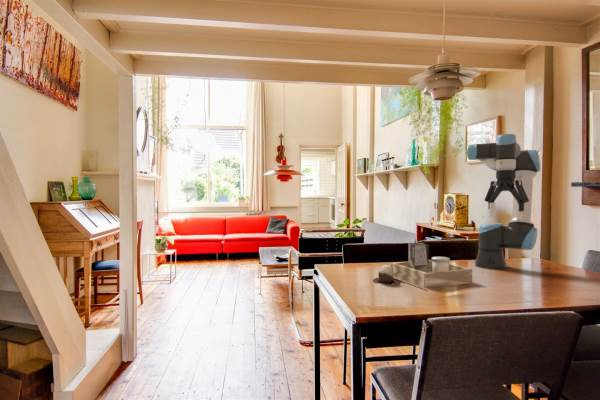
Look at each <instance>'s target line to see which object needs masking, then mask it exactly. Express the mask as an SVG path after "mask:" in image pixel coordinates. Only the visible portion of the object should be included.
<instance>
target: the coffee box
mask: <svg viewBox="0 0 600 400" xmlns="http://www.w3.org/2000/svg"><path fill="white" fill-rule="evenodd" d="M429 255H430V245H429V244H427V243H423V242H408V262H409V268H412V269H415V270H419V271H422V272H425V273H429V260H430V259H429V257H430V256H429Z"/></svg>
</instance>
